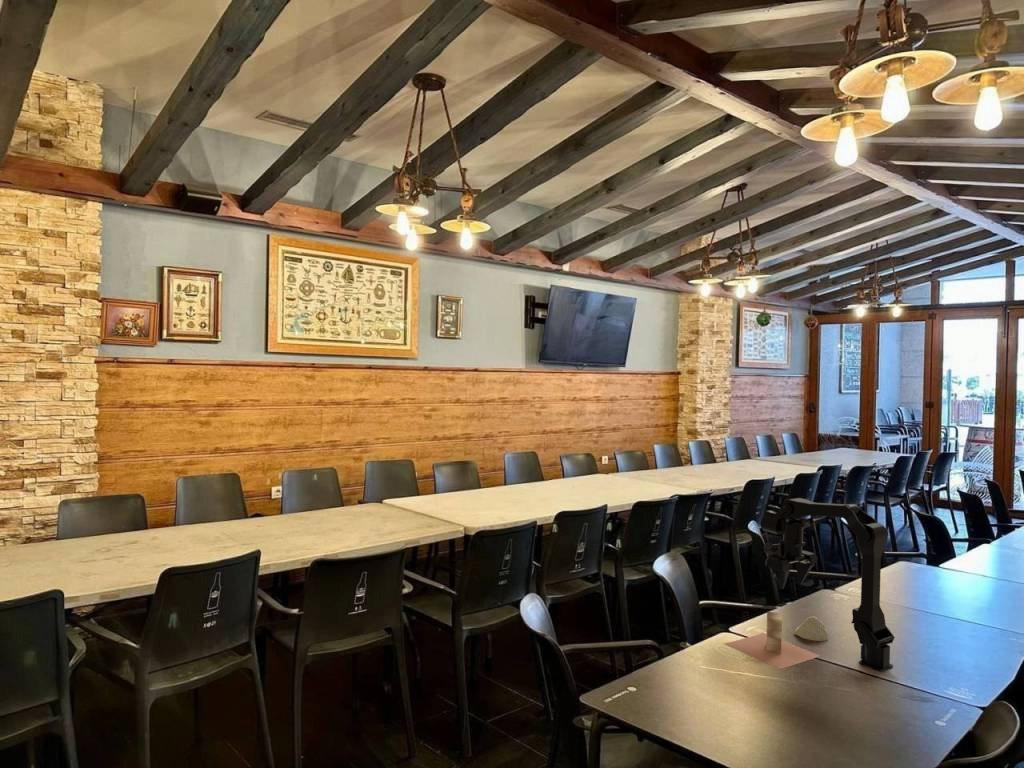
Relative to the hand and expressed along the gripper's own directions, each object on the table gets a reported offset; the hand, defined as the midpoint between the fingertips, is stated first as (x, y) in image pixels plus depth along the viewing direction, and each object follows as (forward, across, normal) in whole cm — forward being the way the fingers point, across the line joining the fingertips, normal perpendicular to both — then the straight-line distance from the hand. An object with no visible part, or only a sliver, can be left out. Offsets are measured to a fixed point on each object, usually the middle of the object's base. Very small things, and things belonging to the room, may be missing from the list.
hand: (790, 586), depth 216 cm
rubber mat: (+15, +17, +7) cm, 24 cm away
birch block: (+14, +16, +7) cm, 23 cm away
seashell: (+15, -4, +6) cm, 16 cm away
